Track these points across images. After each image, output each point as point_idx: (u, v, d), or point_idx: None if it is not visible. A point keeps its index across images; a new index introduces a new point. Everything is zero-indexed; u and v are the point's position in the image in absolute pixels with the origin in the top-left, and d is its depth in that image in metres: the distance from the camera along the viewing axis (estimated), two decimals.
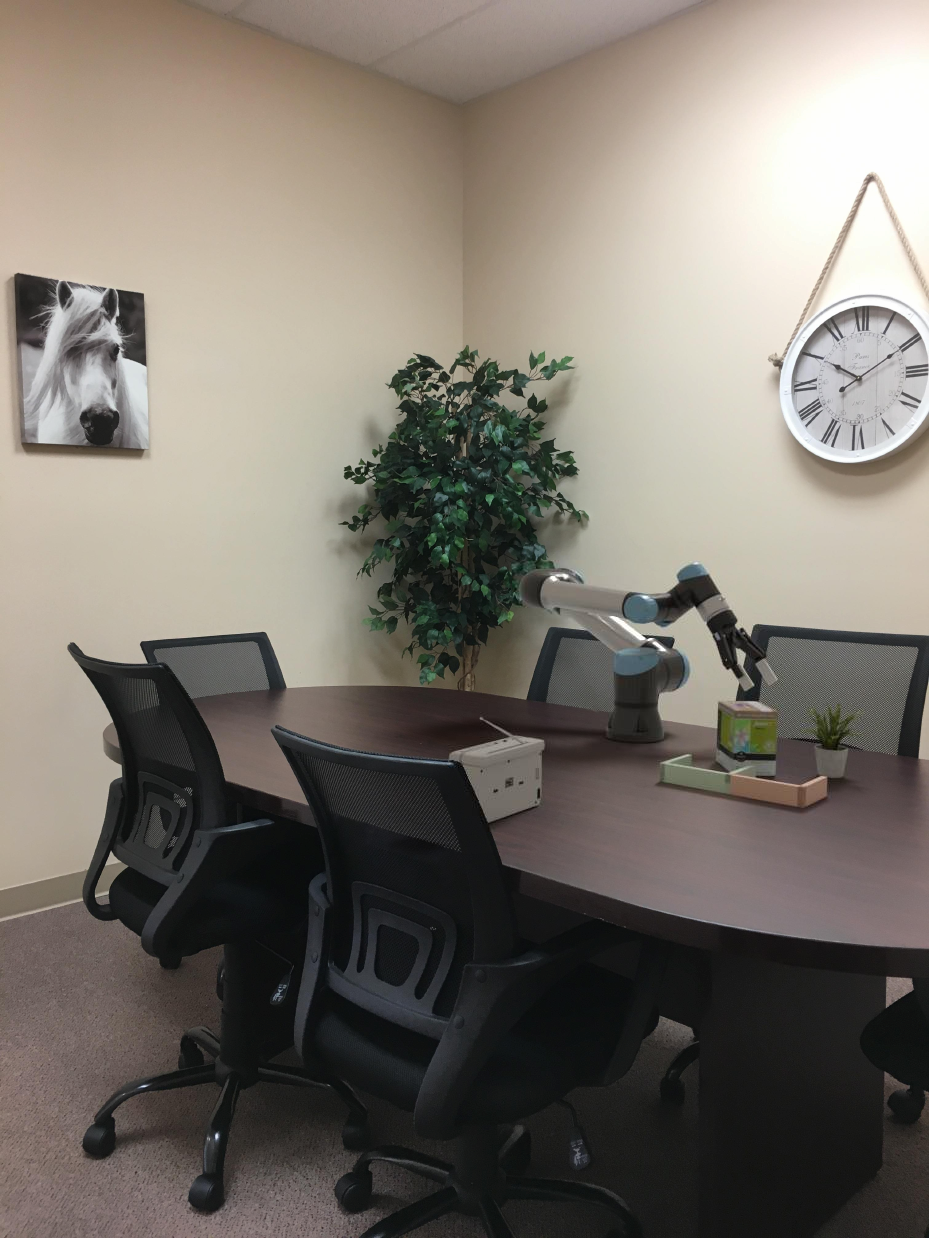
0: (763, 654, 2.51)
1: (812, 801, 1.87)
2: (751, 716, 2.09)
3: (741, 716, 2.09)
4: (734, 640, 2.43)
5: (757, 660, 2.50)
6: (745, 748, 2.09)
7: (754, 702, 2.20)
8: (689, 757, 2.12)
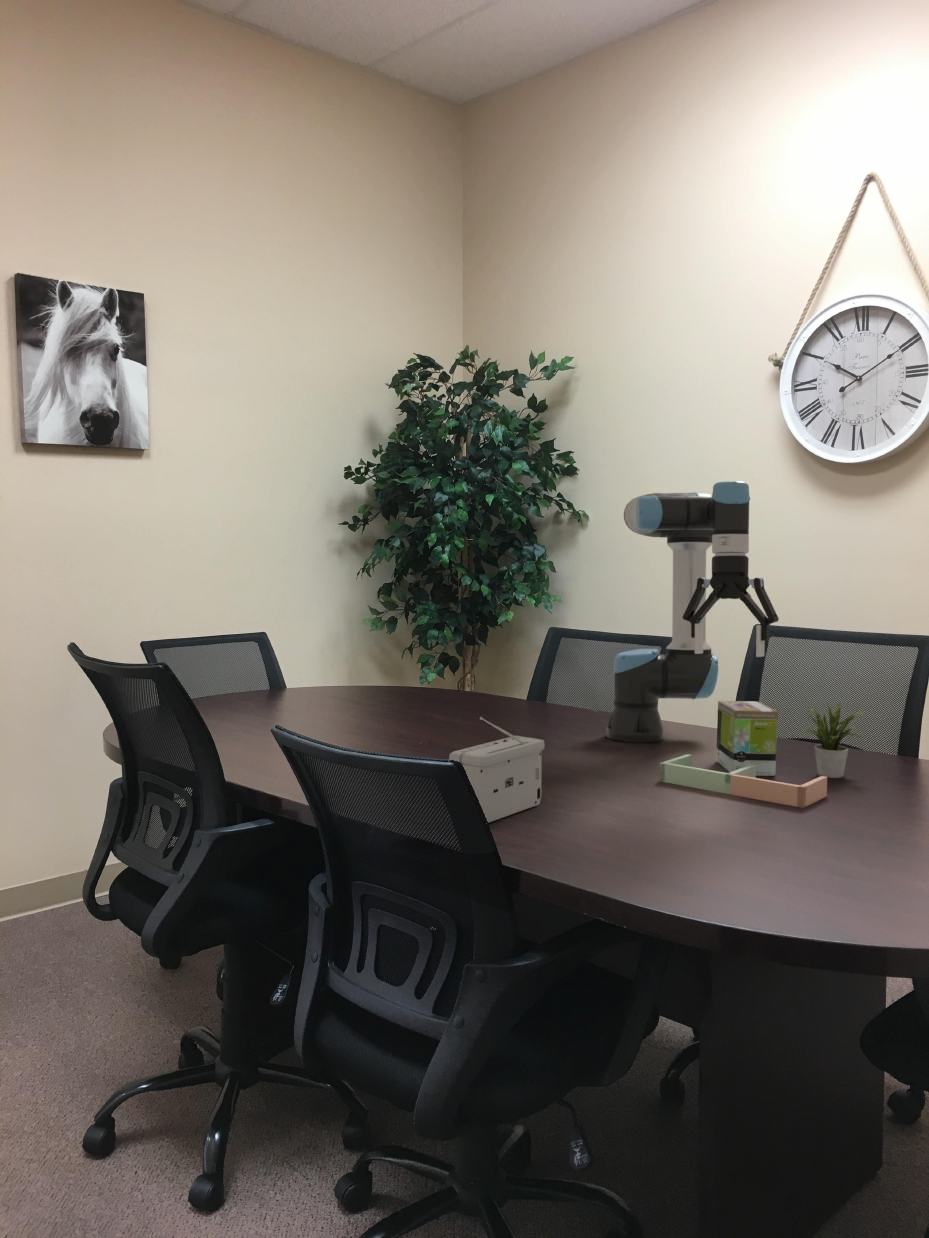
0: (768, 619, 1.96)
1: (812, 801, 1.87)
2: (751, 716, 2.09)
3: (741, 716, 2.09)
4: (712, 594, 2.02)
5: None
6: (745, 748, 2.09)
7: (754, 702, 2.20)
8: (689, 757, 2.12)
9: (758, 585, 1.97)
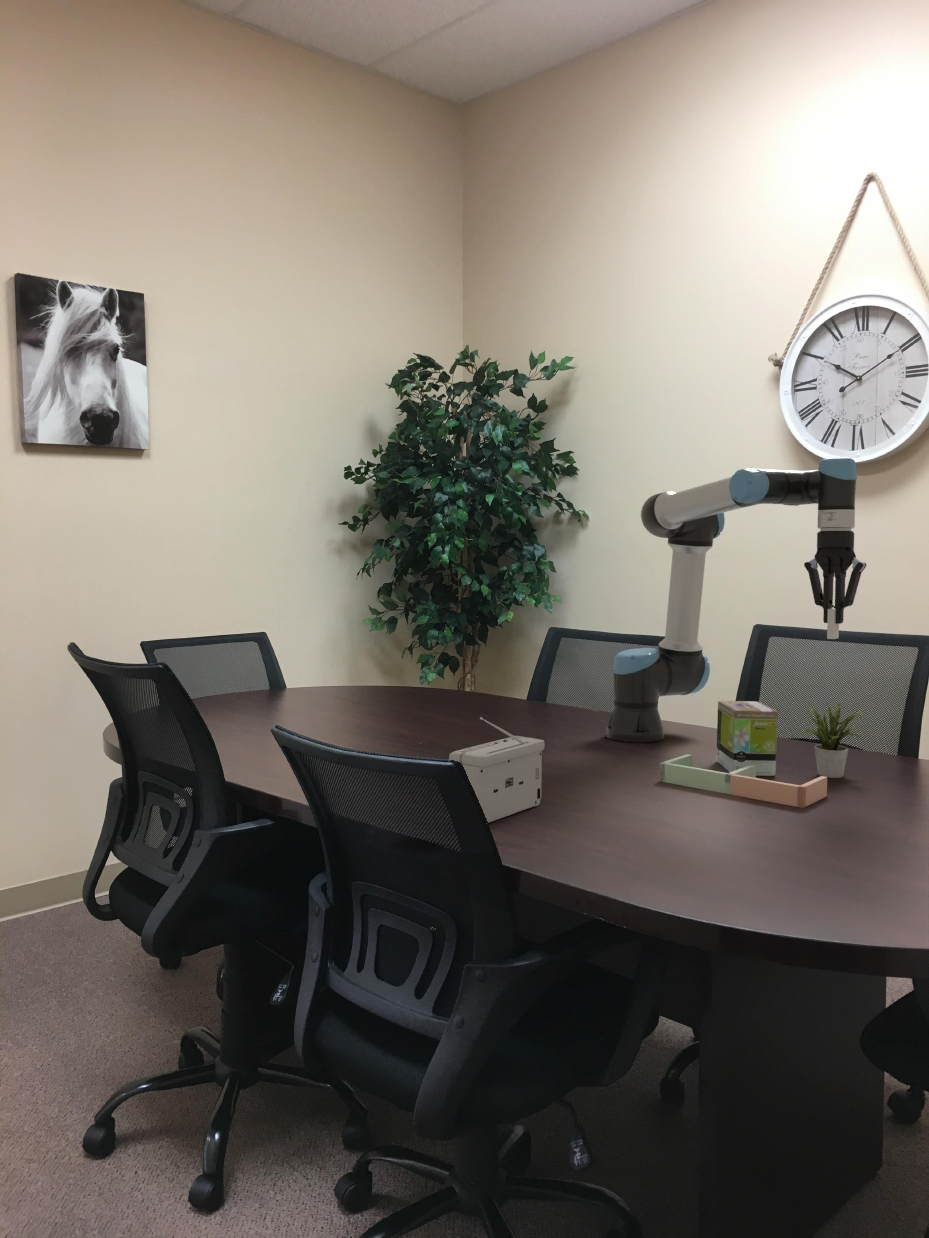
0: (843, 601, 2.04)
1: (812, 801, 1.87)
2: (751, 716, 2.09)
3: (741, 716, 2.09)
4: (825, 572, 2.06)
5: None
6: (745, 748, 2.09)
7: (754, 702, 2.20)
8: (689, 757, 2.12)
9: (857, 570, 2.02)
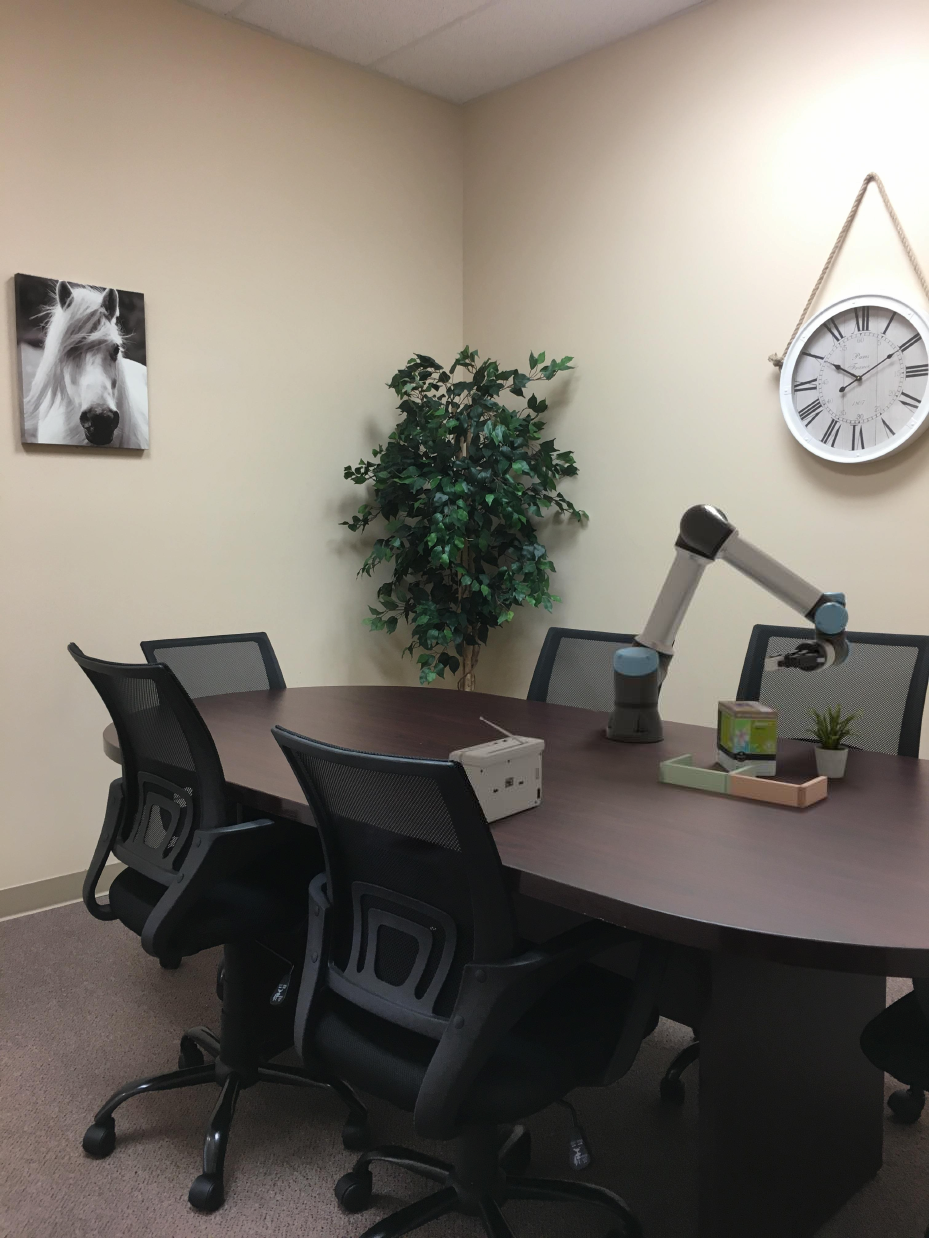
0: None
1: (812, 801, 1.87)
2: (751, 716, 2.09)
3: (741, 716, 2.09)
4: None
5: None
6: (745, 748, 2.09)
7: (754, 702, 2.20)
8: (689, 757, 2.12)
9: None
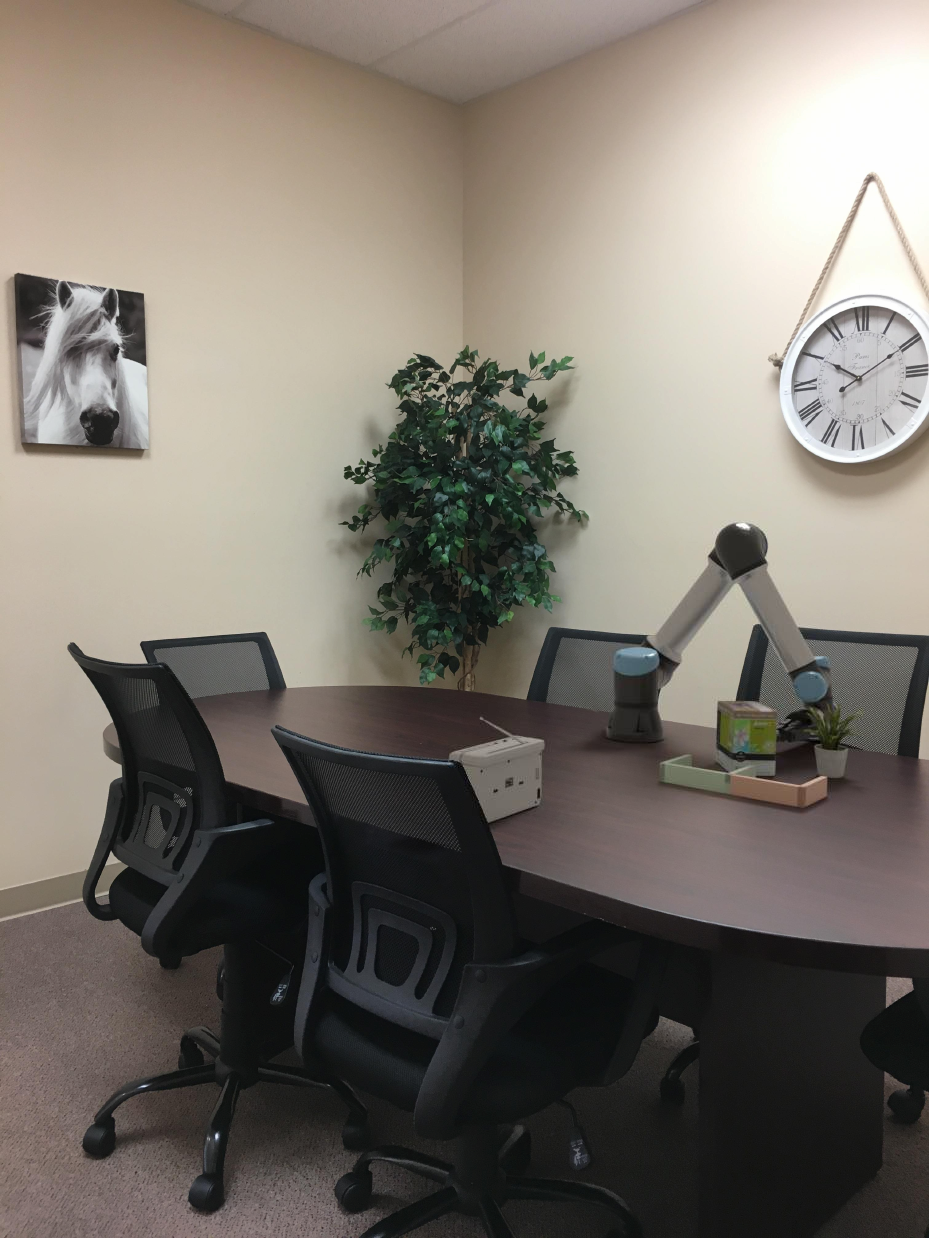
0: None
1: (812, 801, 1.87)
2: (750, 716, 2.09)
3: (740, 716, 2.09)
4: None
5: None
6: (745, 748, 2.09)
7: (753, 702, 2.20)
8: (689, 757, 2.12)
9: None
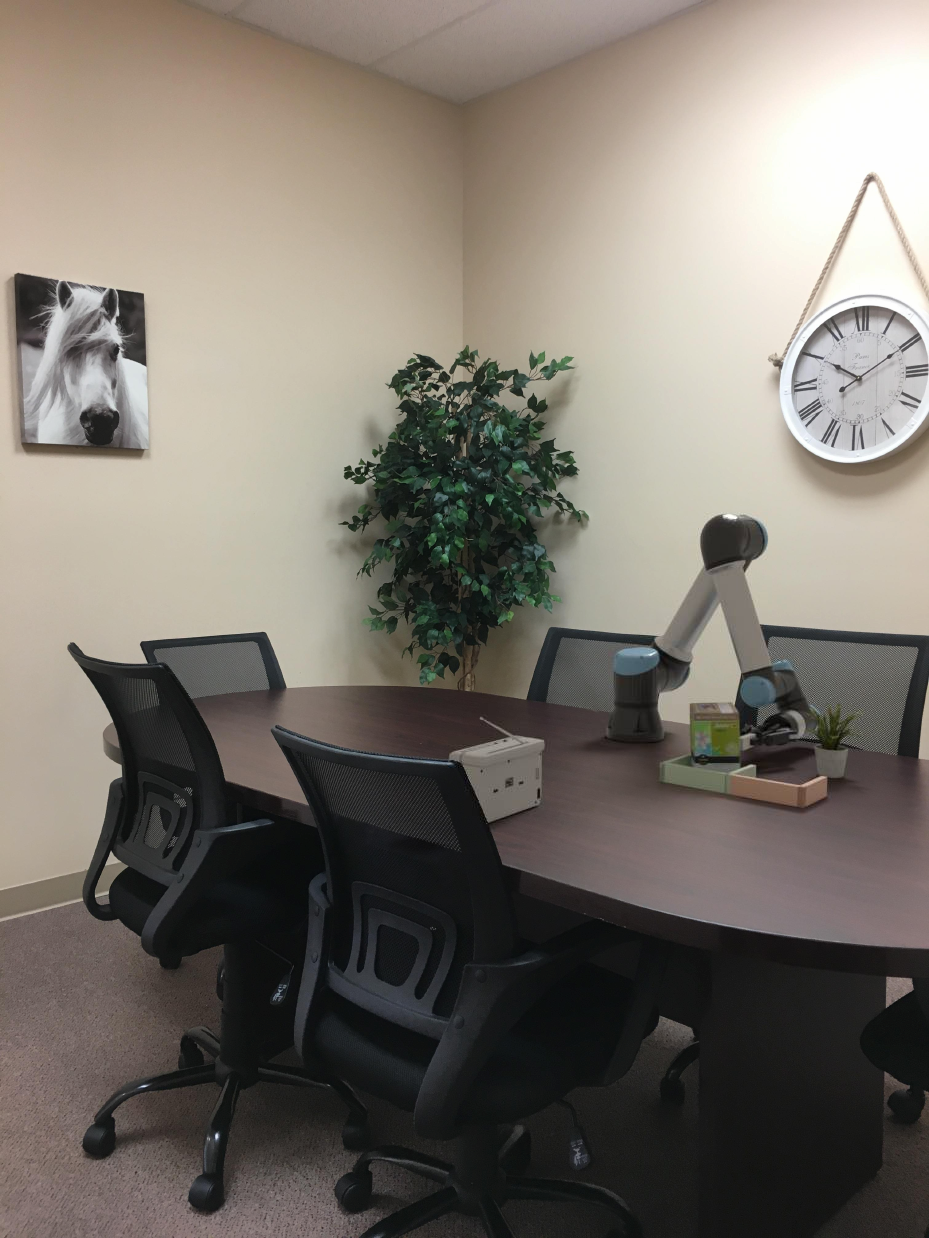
0: None
1: (812, 801, 1.87)
2: (711, 718, 2.04)
3: (700, 718, 2.05)
4: None
5: None
6: (707, 751, 2.05)
7: (725, 703, 2.15)
8: (689, 757, 2.12)
9: None
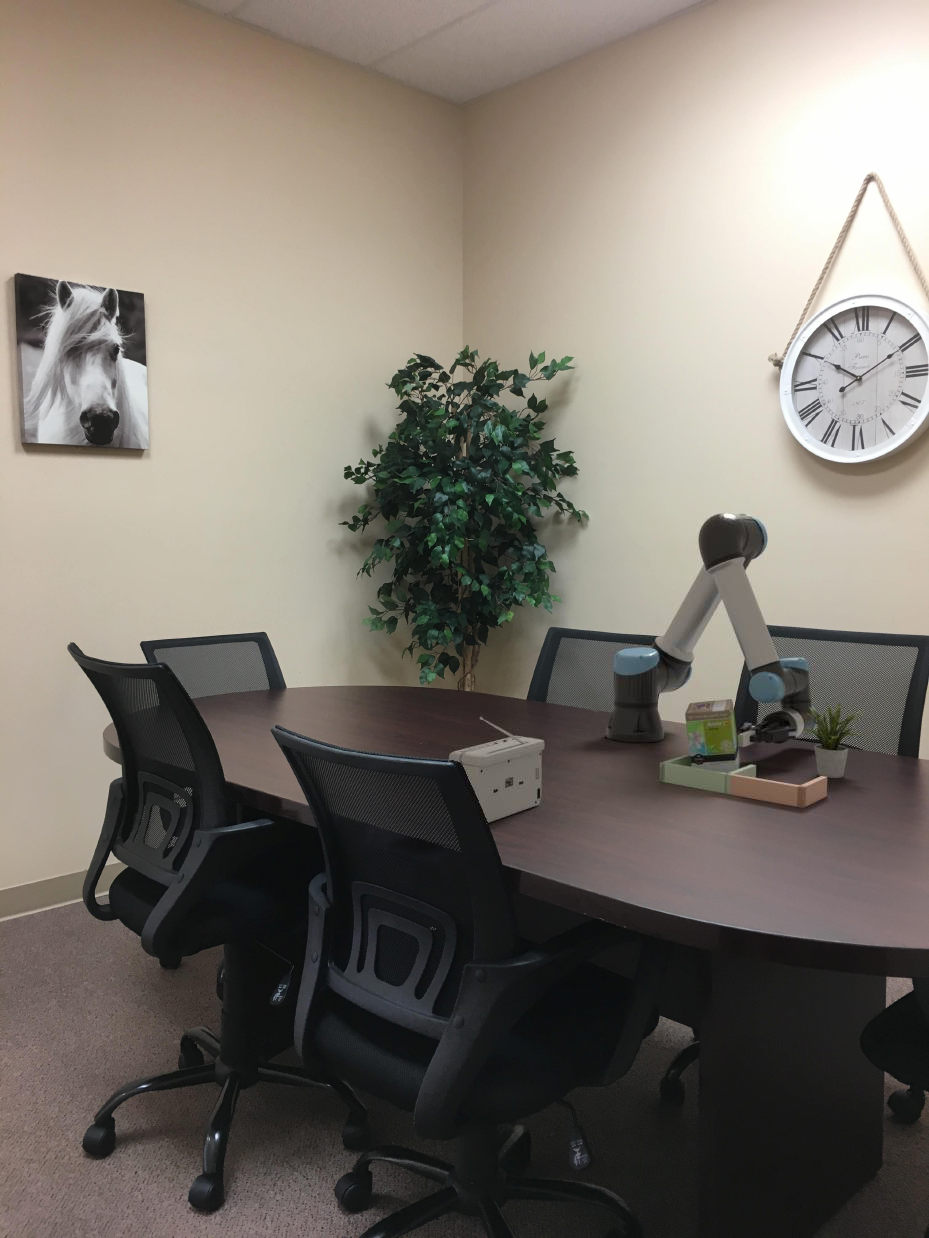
0: None
1: (812, 801, 1.87)
2: (703, 717, 2.04)
3: (692, 718, 2.05)
4: None
5: None
6: (702, 750, 2.05)
7: (723, 701, 2.15)
8: (689, 757, 2.12)
9: None
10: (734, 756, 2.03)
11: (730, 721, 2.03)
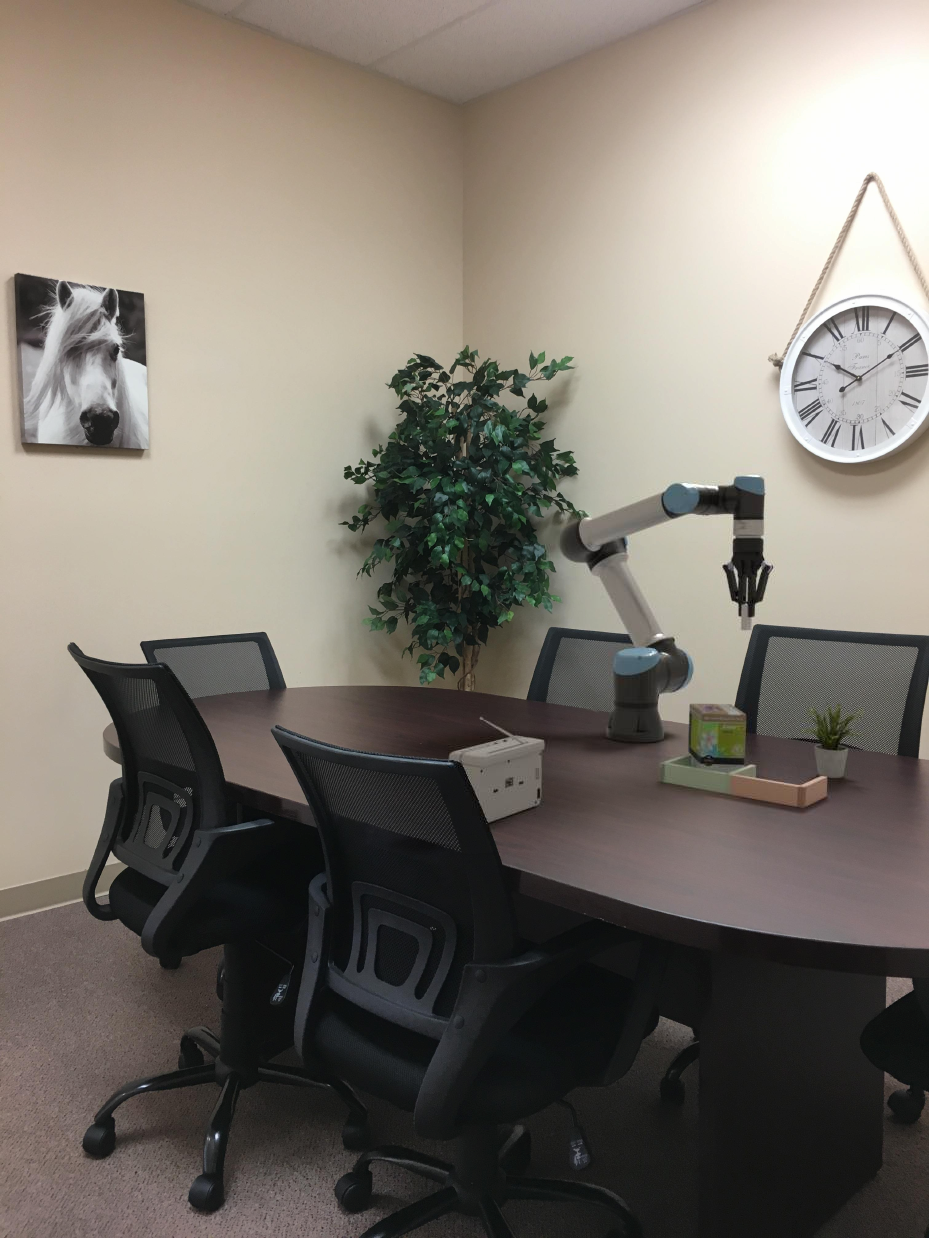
0: (754, 598, 2.40)
1: (812, 801, 1.87)
2: (719, 719, 2.05)
3: (708, 719, 2.05)
4: (739, 573, 2.41)
5: None
6: (713, 752, 2.05)
7: (726, 705, 2.16)
8: (689, 757, 2.12)
9: (765, 571, 2.37)
10: (743, 761, 2.05)
11: (745, 726, 2.05)
